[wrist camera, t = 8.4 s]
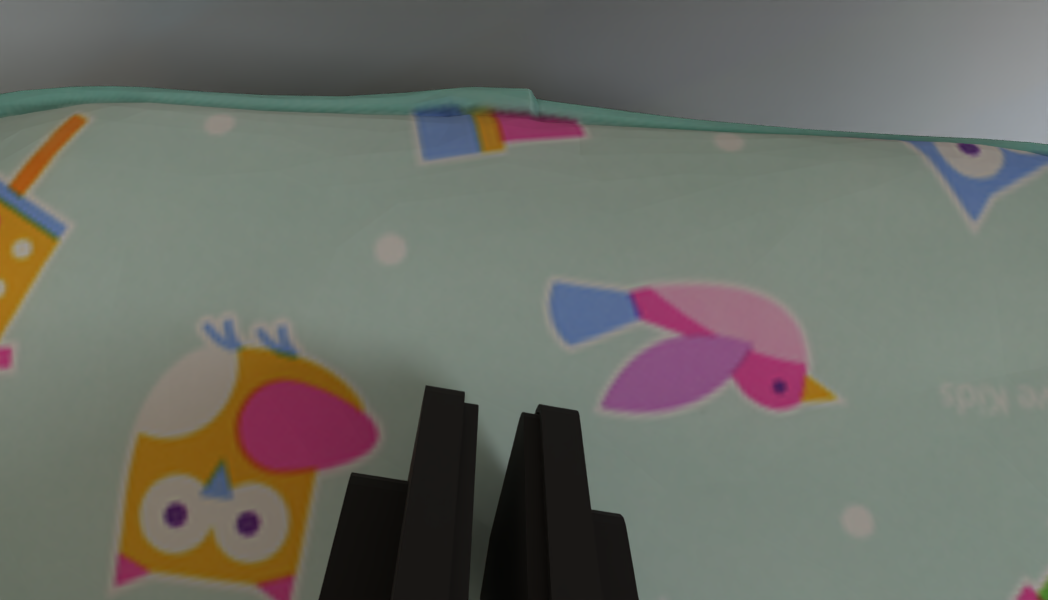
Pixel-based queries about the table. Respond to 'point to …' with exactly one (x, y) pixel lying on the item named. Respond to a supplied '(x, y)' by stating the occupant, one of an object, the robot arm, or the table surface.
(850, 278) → the lunch box
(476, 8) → the table surface
